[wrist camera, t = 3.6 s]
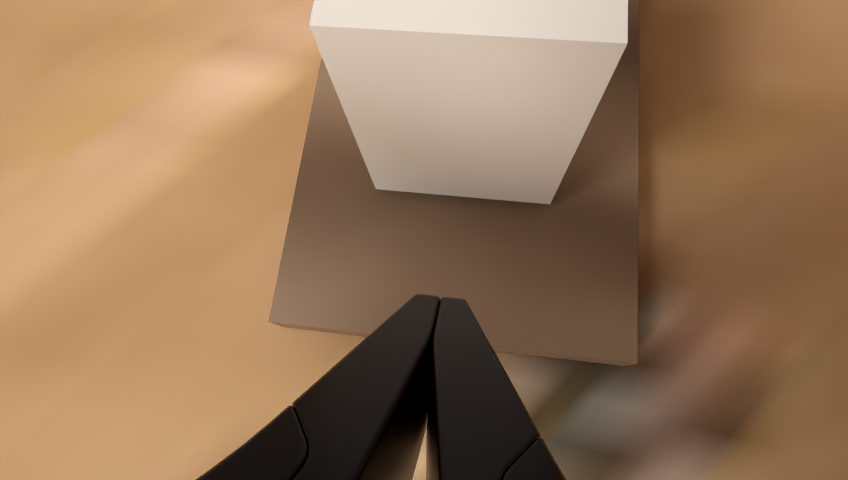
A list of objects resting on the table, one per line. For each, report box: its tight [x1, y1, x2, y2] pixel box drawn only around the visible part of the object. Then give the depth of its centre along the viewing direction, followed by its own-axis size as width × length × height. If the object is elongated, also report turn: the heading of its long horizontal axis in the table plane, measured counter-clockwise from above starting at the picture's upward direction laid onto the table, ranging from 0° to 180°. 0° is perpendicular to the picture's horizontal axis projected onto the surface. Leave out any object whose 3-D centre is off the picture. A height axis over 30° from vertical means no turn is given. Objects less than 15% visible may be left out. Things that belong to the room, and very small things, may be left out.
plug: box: [309, 0, 628, 204], centre depth 12 cm, size 6×5×7 cm
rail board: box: [269, 0, 639, 366], centre depth 17 cm, size 20×10×1 cm, turn 173°
